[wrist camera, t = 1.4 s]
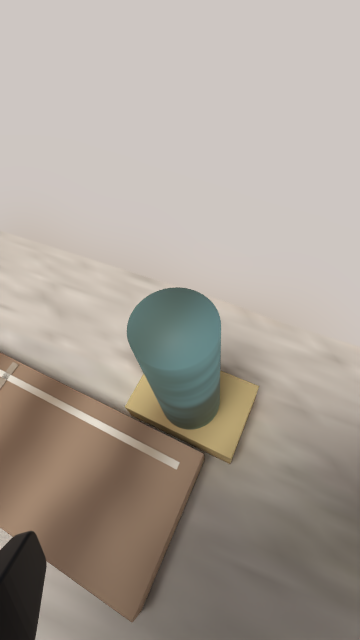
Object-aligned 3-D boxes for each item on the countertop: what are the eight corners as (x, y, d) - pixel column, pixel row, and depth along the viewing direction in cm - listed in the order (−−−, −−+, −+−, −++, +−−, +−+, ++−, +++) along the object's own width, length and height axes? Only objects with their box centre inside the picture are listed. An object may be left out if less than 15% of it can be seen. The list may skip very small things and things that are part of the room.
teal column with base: (255, 396, 22) (284, 304, 13) (230, 464, 20) (240, 413, 11) (163, 358, 24) (128, 254, 15) (132, 415, 22) (68, 338, 13)
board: (204, 459, 20) (203, 453, 18) (140, 612, 17) (131, 623, 15) (-25, 344, 26) (-43, 331, 24) (-106, 438, 23) (-134, 431, 21)
